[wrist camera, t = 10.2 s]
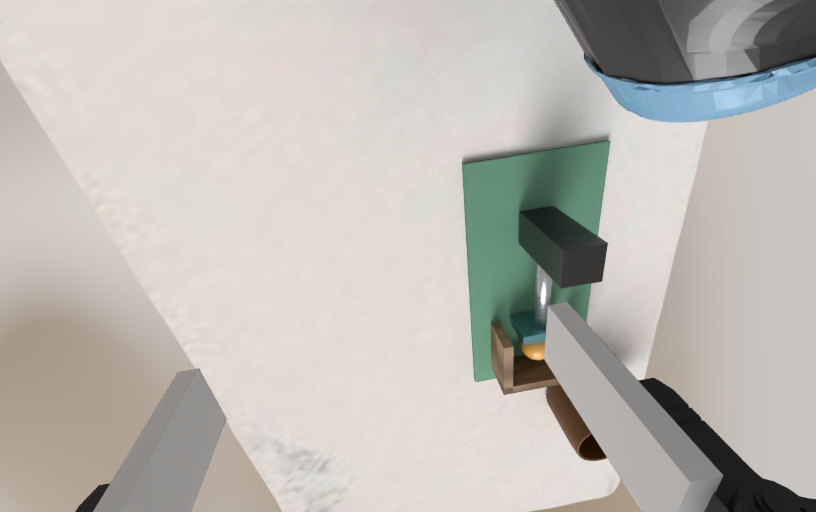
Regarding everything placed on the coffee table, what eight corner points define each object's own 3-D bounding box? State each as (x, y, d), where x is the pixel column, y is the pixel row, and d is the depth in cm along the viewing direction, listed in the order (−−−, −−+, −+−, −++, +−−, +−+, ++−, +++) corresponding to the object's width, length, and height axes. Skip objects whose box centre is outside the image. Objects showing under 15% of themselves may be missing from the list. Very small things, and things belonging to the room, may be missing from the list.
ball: (530, 361, 45) (521, 363, 49) (561, 355, 45) (550, 358, 49) (521, 329, 46) (513, 334, 50) (551, 324, 46) (541, 329, 50)
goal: (490, 322, 47) (503, 348, 43) (570, 308, 48) (591, 332, 44) (491, 367, 51) (504, 394, 47) (565, 353, 52) (584, 379, 47)
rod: (510, 212, 40) (552, 252, 31) (562, 204, 40) (618, 241, 32) (509, 322, 47) (543, 379, 39) (553, 314, 48) (597, 369, 39)
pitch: (462, 163, 38) (463, 164, 37) (607, 140, 38) (610, 141, 38) (474, 379, 53) (475, 382, 52) (578, 359, 53) (580, 362, 53)
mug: (621, 362, 55) (667, 414, 47) (613, 396, 58) (655, 450, 50) (545, 376, 54) (579, 431, 46) (542, 409, 58) (573, 466, 50)
